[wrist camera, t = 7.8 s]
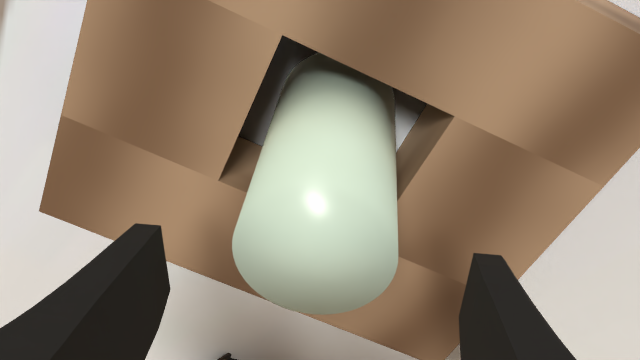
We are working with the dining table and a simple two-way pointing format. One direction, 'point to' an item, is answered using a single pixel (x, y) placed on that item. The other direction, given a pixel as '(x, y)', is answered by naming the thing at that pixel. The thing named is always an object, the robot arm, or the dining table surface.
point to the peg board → (411, 158)
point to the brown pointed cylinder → (226, 357)
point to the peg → (323, 193)
